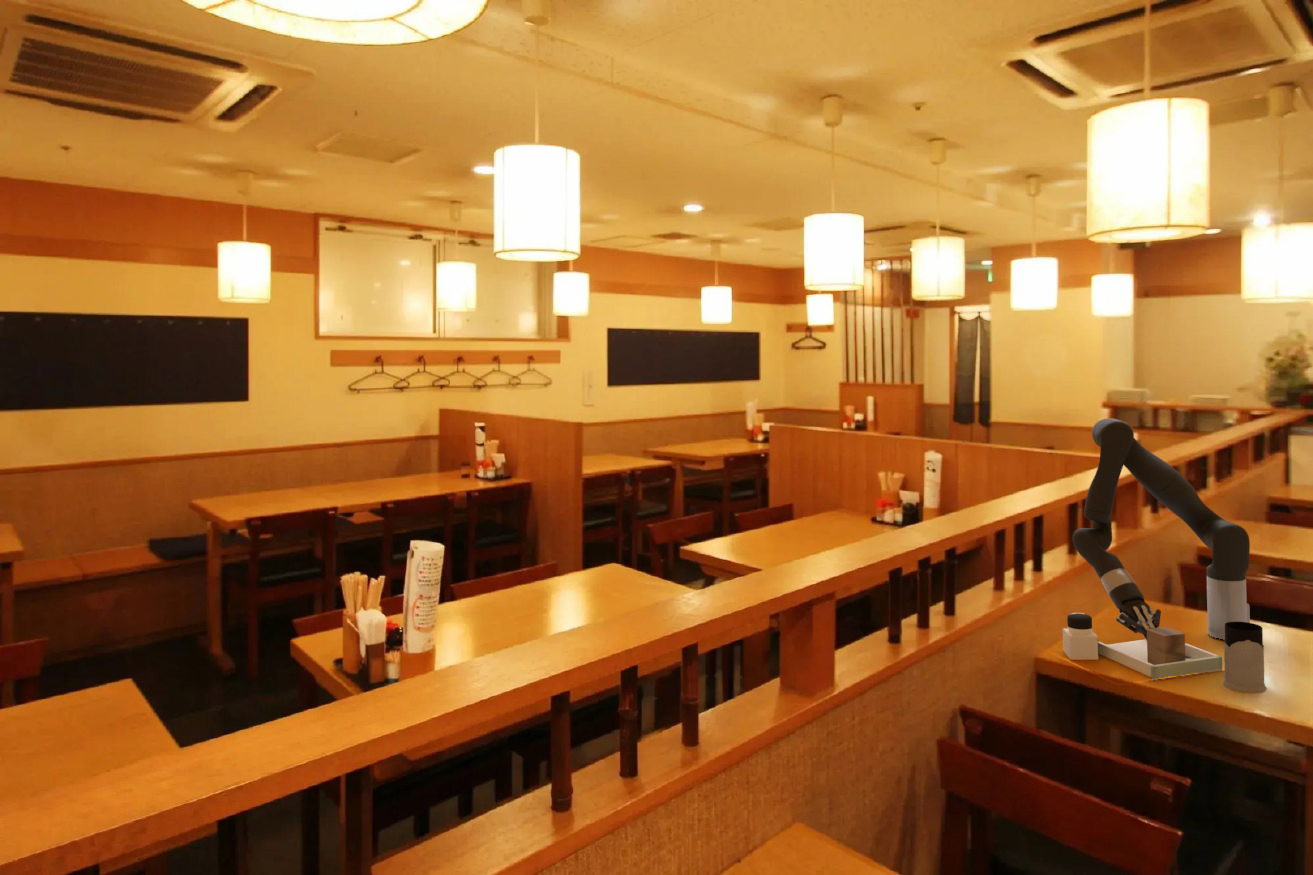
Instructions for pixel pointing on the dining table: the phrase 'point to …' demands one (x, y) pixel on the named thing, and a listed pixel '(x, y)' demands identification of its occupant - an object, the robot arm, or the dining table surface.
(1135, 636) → the dining table surface
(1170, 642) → the walnut block
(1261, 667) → the glass holder
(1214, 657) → the shallow white tray
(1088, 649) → the medicine bottle
